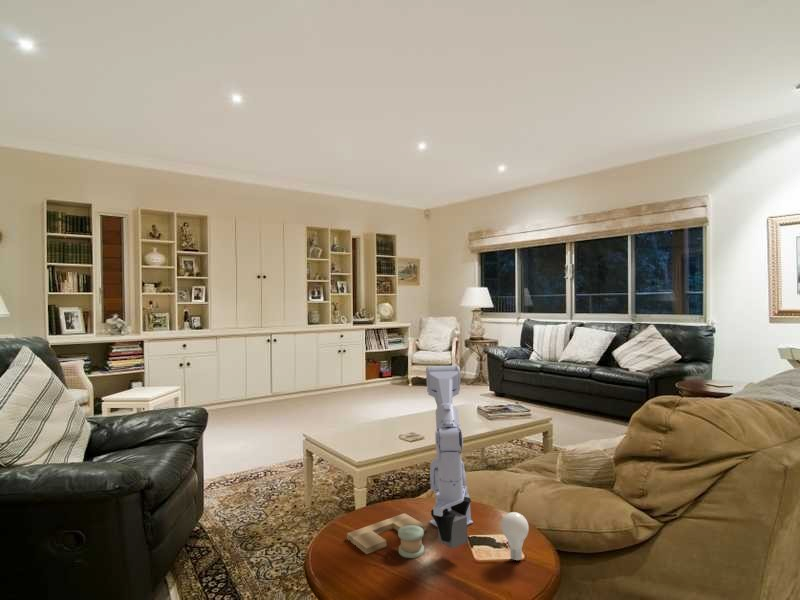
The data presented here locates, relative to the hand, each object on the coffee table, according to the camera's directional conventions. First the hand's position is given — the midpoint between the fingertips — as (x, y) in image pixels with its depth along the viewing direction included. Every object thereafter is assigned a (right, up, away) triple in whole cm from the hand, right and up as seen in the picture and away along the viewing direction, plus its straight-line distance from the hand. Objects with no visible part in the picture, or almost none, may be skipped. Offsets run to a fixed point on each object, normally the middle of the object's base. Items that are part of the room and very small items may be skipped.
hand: (452, 534), depth 113 cm
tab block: (0, -2, 0) cm, 2 cm away
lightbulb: (+15, -5, -2) cm, 16 cm away
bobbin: (-10, -6, +4) cm, 12 cm away
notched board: (-16, -7, +13) cm, 22 cm away
